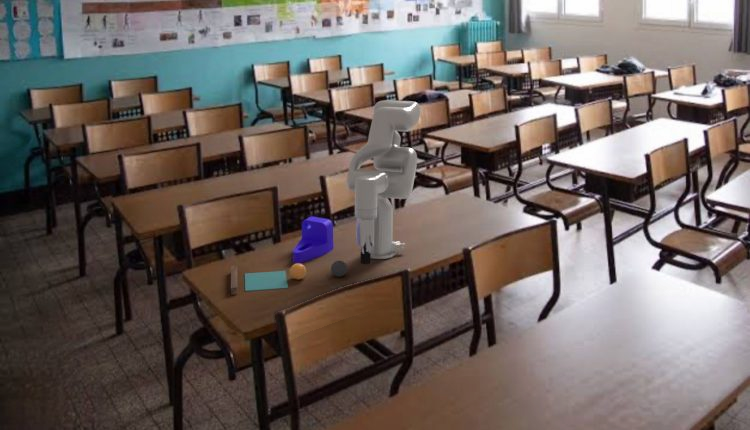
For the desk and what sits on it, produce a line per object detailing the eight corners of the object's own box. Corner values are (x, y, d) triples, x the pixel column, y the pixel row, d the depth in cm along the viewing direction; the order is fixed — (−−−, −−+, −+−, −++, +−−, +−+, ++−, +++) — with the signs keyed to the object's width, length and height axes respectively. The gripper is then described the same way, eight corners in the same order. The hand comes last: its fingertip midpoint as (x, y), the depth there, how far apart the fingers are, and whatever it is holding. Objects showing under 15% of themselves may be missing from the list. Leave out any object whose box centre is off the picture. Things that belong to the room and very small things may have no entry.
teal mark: (285, 271, 253) (285, 270, 253) (288, 288, 240) (288, 287, 240) (244, 274, 251) (244, 273, 251) (245, 291, 238) (245, 290, 238)
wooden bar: (237, 272, 252) (237, 265, 251) (237, 294, 235) (237, 287, 235) (231, 272, 252) (231, 266, 251) (231, 294, 235) (230, 287, 234)
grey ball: (345, 272, 253) (345, 257, 251) (348, 278, 247) (348, 263, 246) (330, 273, 252) (329, 258, 250) (332, 279, 247) (331, 264, 245)
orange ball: (305, 274, 250) (305, 260, 248) (307, 281, 245) (306, 266, 243) (289, 276, 249) (289, 261, 247) (290, 282, 244) (290, 267, 242)
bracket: (308, 244, 278) (307, 215, 274) (333, 249, 273) (332, 220, 269) (282, 260, 262) (281, 230, 258) (308, 266, 258) (307, 235, 254)
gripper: (351, 206, 250) (351, 256, 255) (358, 219, 236) (358, 271, 241) (373, 205, 251) (372, 255, 256) (381, 218, 237) (380, 270, 242)
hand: (365, 263), depth 249 cm, fingers closed
